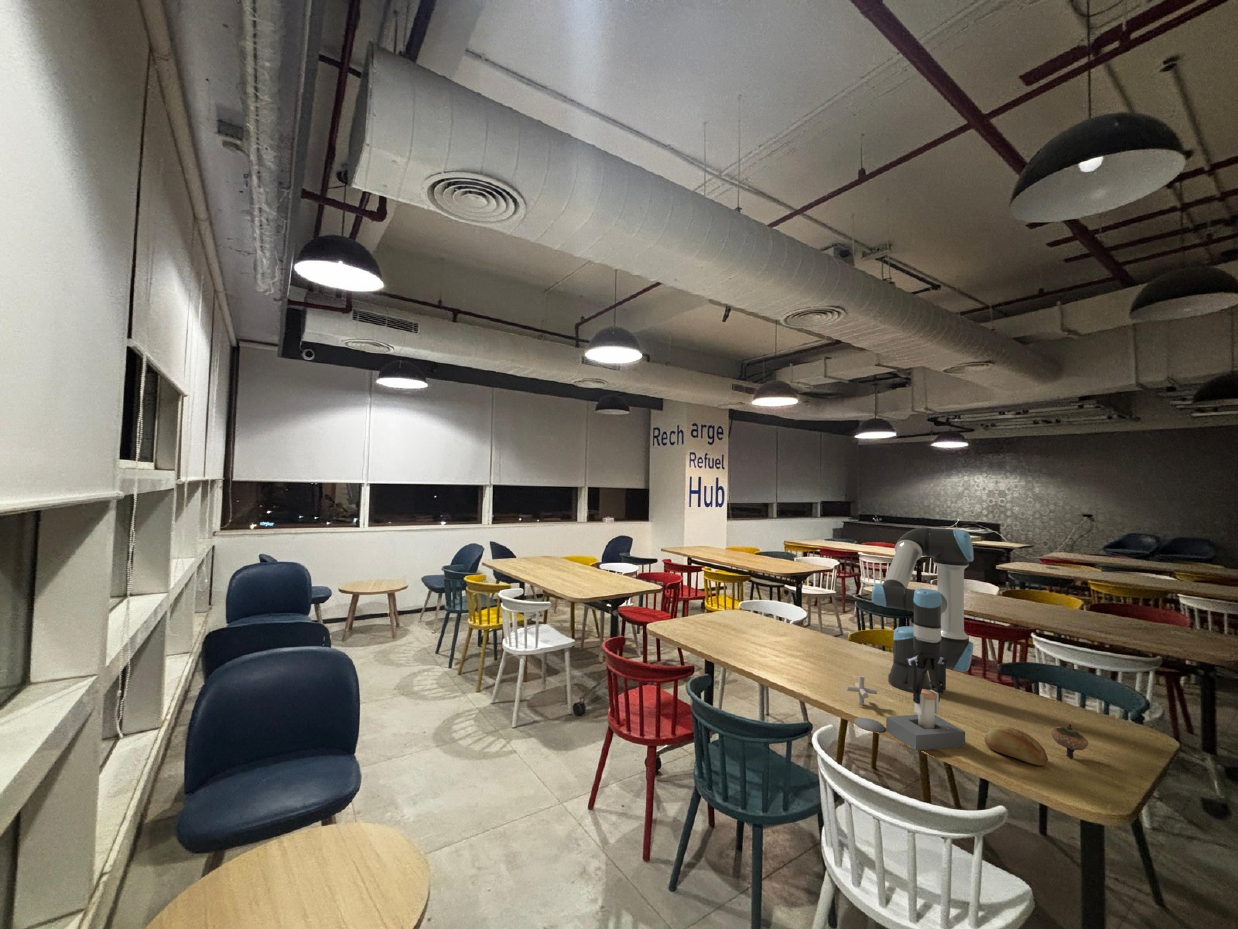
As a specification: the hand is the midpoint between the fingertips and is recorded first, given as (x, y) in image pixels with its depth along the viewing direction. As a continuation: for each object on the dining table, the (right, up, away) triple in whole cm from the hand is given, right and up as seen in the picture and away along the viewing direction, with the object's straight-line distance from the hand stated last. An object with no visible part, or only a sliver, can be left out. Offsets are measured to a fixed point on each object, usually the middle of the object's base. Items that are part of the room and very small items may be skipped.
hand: (926, 712), depth 154 cm
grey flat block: (-1, -8, -1) cm, 8 cm away
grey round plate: (-15, -8, +7) cm, 18 cm away
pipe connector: (-9, -9, +23) cm, 26 cm away
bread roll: (+21, -9, -9) cm, 24 cm away
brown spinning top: (+38, -9, -9) cm, 40 cm away
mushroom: (0, -6, 0) cm, 6 cm away
